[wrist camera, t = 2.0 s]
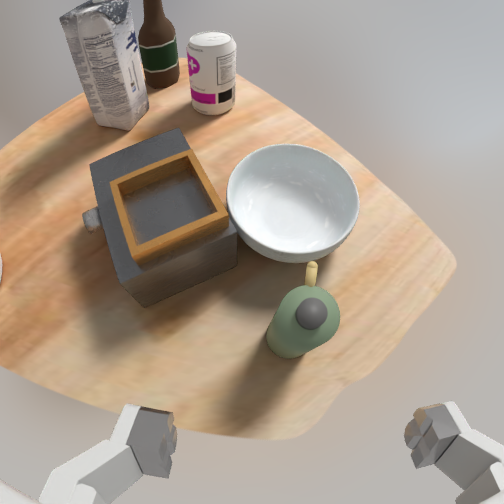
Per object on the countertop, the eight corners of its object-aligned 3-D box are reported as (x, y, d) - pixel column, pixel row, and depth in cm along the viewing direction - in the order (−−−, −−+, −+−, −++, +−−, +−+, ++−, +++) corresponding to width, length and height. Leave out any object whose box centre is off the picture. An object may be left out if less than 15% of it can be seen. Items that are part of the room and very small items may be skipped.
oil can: (310, 359, 34) (344, 345, 23) (264, 357, 34) (278, 342, 23) (312, 300, 37) (342, 261, 27) (268, 296, 37) (282, 256, 26)
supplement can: (195, 120, 51) (188, 50, 37) (190, 96, 54) (184, 33, 40) (239, 113, 52) (241, 44, 38) (229, 90, 55) (230, 27, 42)
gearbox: (124, 316, 35) (85, 288, 25) (93, 210, 42) (63, 163, 32) (236, 266, 39) (237, 220, 29) (186, 169, 45) (176, 115, 35)
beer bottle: (184, 82, 56) (175, -16, 35) (150, 93, 55) (132, -6, 33) (175, 68, 59) (166, -21, 38) (144, 78, 57) (127, -12, 36)
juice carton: (131, 135, 49) (95, 3, 24) (91, 128, 50) (50, 13, 25) (156, 107, 52) (135, -16, 28) (117, 101, 54) (88, -8, 29)
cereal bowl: (267, 158, 47) (271, 126, 41) (360, 208, 44) (376, 180, 38) (202, 235, 41) (197, 205, 34) (310, 300, 37) (325, 281, 31)
